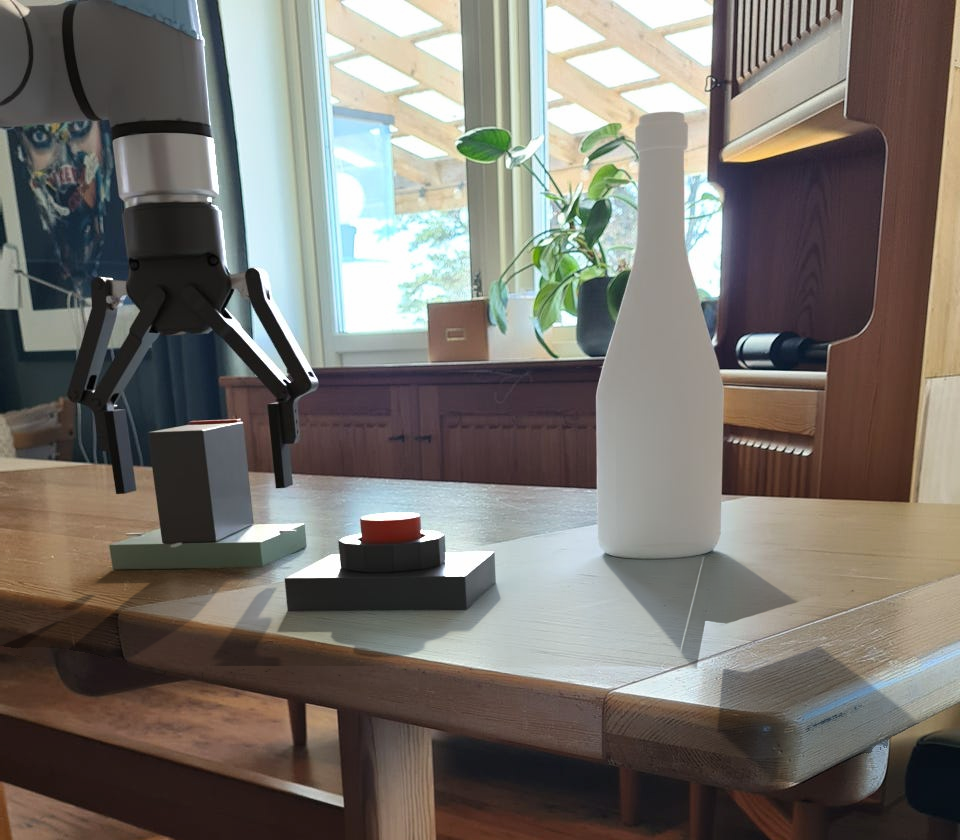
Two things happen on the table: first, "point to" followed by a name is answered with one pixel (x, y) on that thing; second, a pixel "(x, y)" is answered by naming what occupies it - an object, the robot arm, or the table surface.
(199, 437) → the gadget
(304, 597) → the switch box
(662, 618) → the table surface
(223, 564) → the platform
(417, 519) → the button
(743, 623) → the table surface
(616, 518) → the wine bottle
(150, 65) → the robot arm
